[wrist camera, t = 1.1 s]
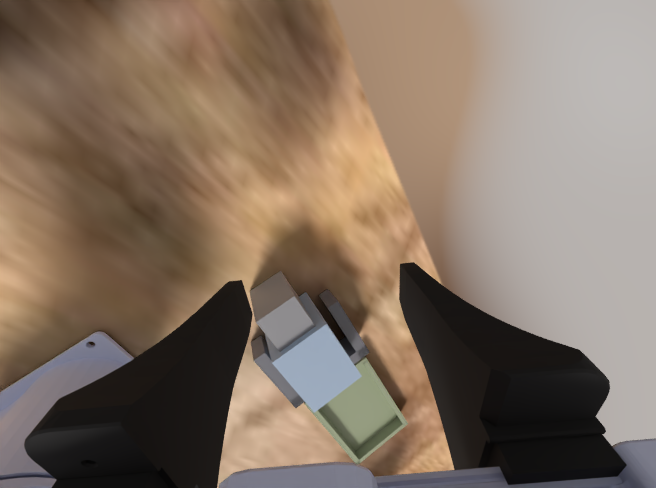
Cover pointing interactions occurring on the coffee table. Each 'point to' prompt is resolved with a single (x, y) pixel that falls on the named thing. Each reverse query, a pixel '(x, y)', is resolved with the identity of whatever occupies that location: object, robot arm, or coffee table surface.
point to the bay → (349, 342)
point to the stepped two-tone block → (301, 342)
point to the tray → (361, 415)
